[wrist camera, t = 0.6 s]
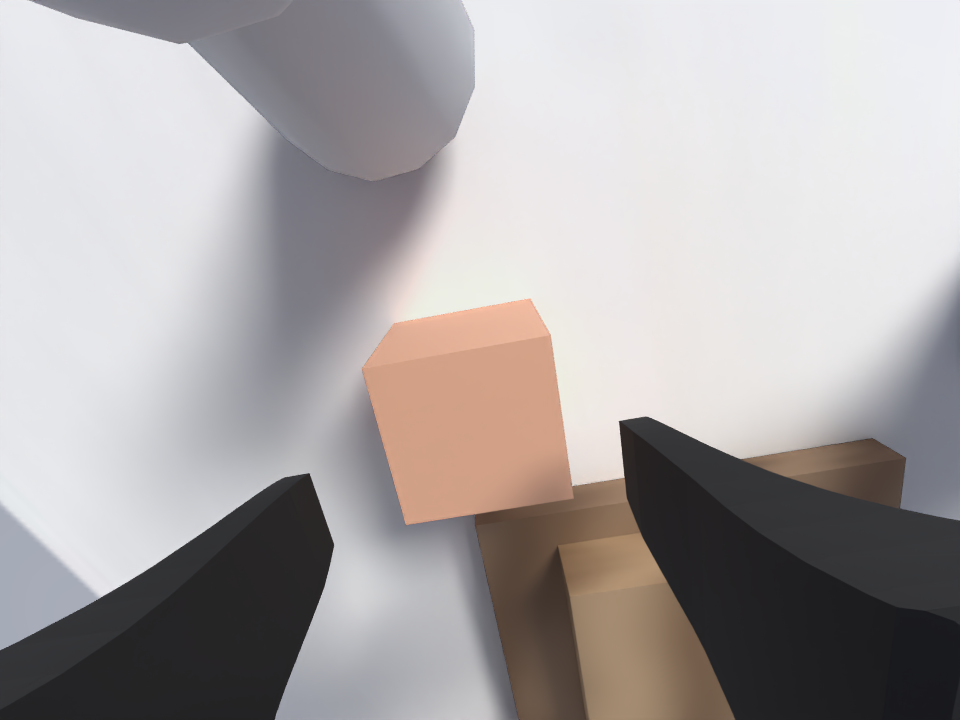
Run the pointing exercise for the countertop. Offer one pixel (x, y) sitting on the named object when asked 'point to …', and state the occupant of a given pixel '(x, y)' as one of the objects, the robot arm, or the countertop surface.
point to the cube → (470, 412)
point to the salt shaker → (326, 69)
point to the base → (609, 515)
